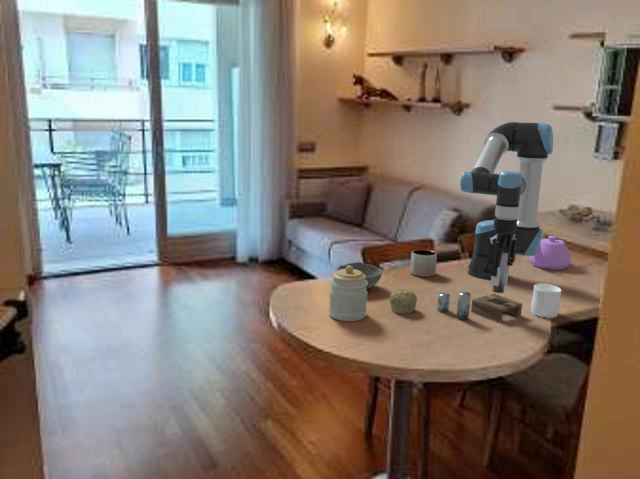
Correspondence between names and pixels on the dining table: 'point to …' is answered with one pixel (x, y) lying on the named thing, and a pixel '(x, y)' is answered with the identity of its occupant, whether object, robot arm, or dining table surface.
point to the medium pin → (463, 306)
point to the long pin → (502, 273)
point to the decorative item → (403, 301)
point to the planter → (423, 263)
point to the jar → (348, 295)
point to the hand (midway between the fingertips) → (498, 283)
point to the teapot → (551, 254)
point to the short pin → (443, 302)
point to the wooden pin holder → (495, 306)
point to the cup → (545, 300)
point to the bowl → (366, 272)
